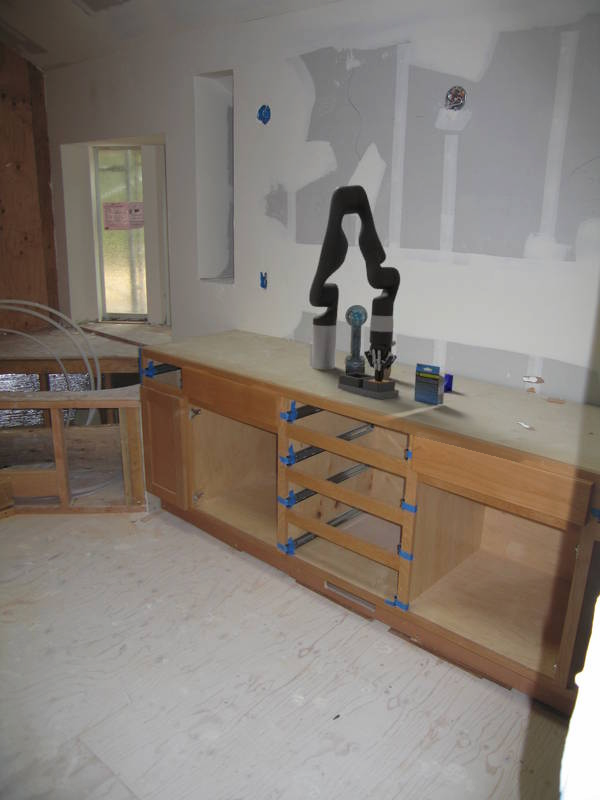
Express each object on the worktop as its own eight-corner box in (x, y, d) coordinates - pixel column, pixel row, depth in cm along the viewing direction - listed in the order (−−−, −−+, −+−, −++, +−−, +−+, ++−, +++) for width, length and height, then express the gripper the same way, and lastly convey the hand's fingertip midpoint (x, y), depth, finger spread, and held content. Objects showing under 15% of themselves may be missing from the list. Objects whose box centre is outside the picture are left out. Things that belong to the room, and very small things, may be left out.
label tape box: (443, 403, 205) (446, 365, 202) (437, 405, 202) (440, 366, 199) (419, 398, 210) (422, 361, 207) (413, 400, 207) (415, 363, 204)
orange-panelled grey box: (337, 388, 222) (338, 374, 221) (356, 385, 228) (357, 372, 227) (379, 399, 207) (380, 384, 206) (398, 396, 213) (399, 381, 212)
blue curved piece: (445, 389, 226) (446, 373, 225) (451, 392, 222) (453, 375, 220) (414, 391, 222) (415, 374, 221) (420, 393, 218) (422, 376, 217)
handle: (389, 382, 235) (391, 342, 231) (374, 380, 239) (376, 340, 235) (395, 380, 238) (398, 340, 235) (381, 378, 242) (383, 339, 239)
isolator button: (365, 386, 214) (366, 380, 213) (378, 384, 217) (378, 378, 217) (378, 389, 209) (379, 383, 209) (391, 387, 213) (391, 381, 212)
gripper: (359, 327, 211) (356, 379, 215) (388, 332, 201) (385, 385, 205) (374, 326, 216) (372, 376, 220) (404, 330, 206) (401, 383, 210)
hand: (378, 381), depth 213 cm, fingers closed
